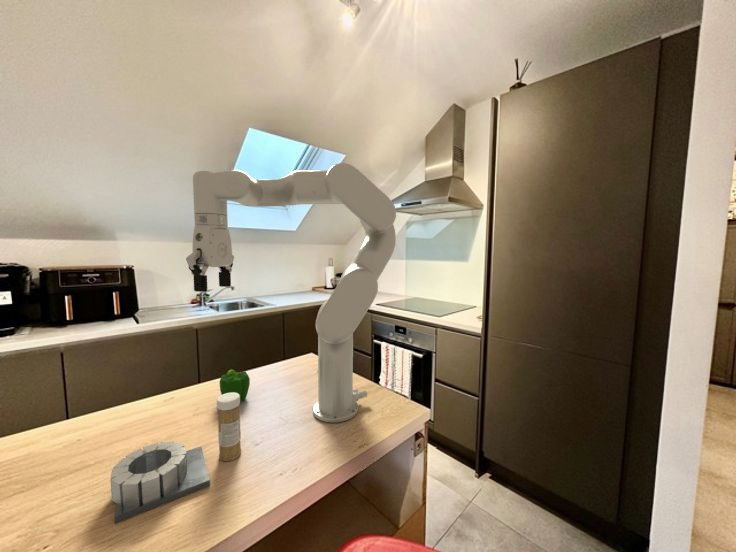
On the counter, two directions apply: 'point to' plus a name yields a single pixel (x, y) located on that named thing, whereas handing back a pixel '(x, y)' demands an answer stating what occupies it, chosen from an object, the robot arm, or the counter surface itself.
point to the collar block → (156, 477)
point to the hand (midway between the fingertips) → (213, 288)
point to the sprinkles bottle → (229, 426)
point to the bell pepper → (235, 383)
